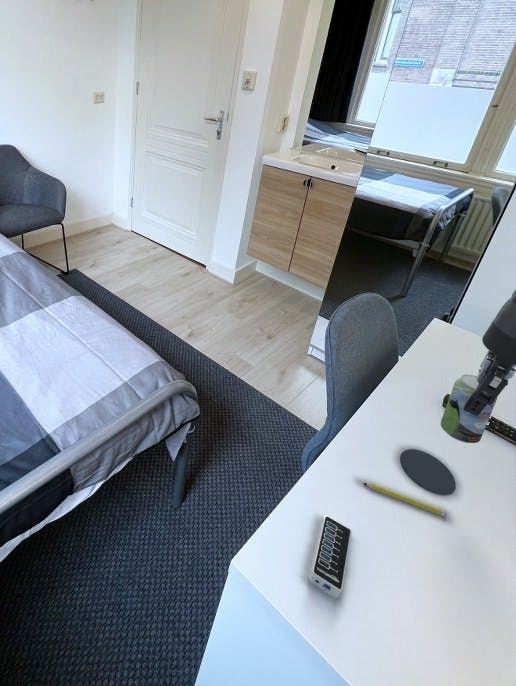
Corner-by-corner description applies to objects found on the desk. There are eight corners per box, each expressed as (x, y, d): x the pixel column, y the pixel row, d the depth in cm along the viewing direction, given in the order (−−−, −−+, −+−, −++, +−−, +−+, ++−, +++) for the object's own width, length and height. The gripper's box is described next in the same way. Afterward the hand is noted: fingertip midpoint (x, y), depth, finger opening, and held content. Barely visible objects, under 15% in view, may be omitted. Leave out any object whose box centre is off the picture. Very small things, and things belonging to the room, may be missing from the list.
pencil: (361, 481, 82) (362, 478, 81) (443, 513, 78) (446, 510, 77) (361, 486, 81) (363, 483, 80) (445, 518, 77) (447, 515, 76)
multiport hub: (347, 536, 72) (352, 529, 71) (337, 599, 64) (342, 592, 63) (320, 521, 74) (324, 513, 73) (307, 580, 66) (311, 572, 65)
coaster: (458, 472, 85) (459, 471, 85) (450, 505, 79) (450, 504, 79) (406, 441, 91) (406, 440, 91) (394, 469, 84) (395, 468, 84)
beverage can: (464, 452, 75) (497, 406, 70) (424, 421, 81) (452, 375, 76) (484, 442, 78) (518, 395, 72) (444, 411, 84) (472, 366, 78)
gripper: (552, 362, 61) (493, 438, 69) (554, 322, 71) (502, 393, 79) (489, 336, 66) (441, 410, 74) (499, 302, 75) (455, 371, 83)
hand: (473, 401), depth 76 cm, fingers closed on beverage can, 6 cm apart
